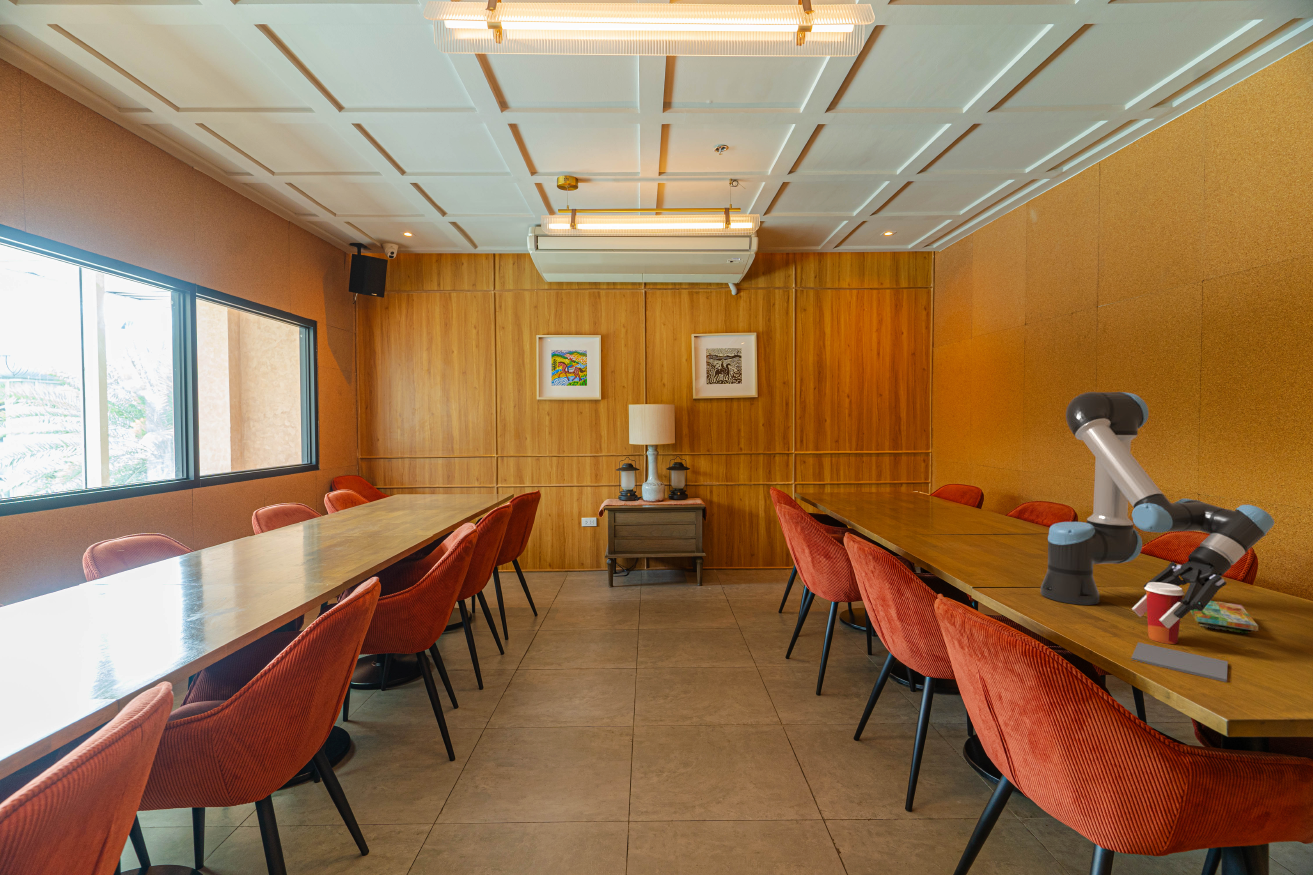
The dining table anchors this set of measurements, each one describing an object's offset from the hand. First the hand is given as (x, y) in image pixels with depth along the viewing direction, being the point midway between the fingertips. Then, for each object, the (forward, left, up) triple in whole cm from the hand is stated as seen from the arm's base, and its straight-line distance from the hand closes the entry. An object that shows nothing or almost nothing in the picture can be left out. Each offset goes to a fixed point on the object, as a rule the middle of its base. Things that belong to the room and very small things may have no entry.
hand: (1149, 618), depth 149 cm
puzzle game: (+12, +29, -6) cm, 32 cm away
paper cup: (+2, +2, -6) cm, 7 cm away
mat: (+6, -13, -6) cm, 15 cm away
